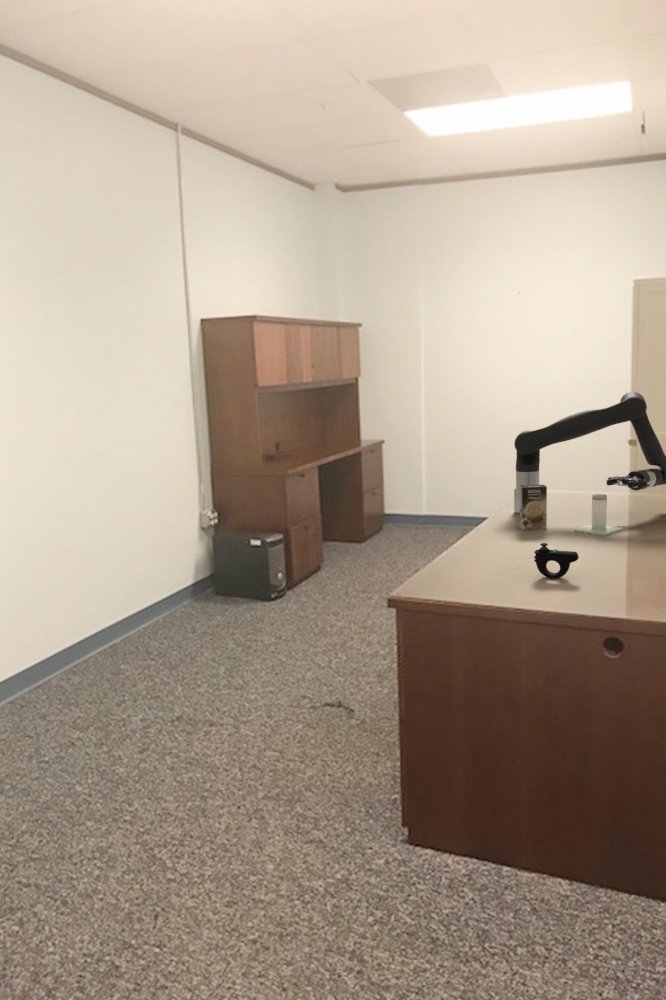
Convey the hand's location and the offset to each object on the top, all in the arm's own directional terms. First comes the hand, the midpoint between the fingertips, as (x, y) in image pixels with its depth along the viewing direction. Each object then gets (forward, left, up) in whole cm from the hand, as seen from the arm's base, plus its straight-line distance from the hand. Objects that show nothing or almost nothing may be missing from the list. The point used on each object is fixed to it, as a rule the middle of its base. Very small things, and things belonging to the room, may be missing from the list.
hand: (618, 483), depth 292 cm
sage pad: (0, -14, -15) cm, 20 cm away
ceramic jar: (0, -13, -14) cm, 20 cm away
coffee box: (-21, -24, -15) cm, 35 cm away
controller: (+24, -75, -15) cm, 80 cm away
